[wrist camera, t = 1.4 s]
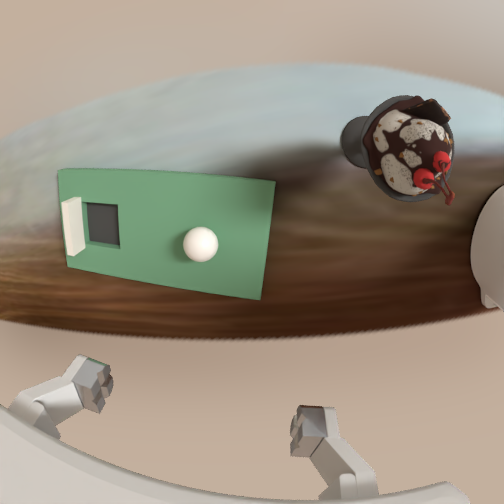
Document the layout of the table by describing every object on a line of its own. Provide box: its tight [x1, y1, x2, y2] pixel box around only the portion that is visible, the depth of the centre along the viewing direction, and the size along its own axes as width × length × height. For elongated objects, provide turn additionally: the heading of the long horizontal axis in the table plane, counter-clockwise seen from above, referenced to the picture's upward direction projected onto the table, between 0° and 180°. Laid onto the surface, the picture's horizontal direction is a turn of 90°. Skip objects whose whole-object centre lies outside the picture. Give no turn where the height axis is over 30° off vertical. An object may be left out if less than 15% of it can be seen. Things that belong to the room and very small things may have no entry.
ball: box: [183, 227, 218, 262], centre depth 27 cm, size 3×3×3 cm
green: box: [58, 168, 276, 300], centre depth 28 cm, size 24×12×4 cm, turn 84°
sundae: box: [342, 95, 455, 205], centre depth 17 cm, size 7×7×15 cm
